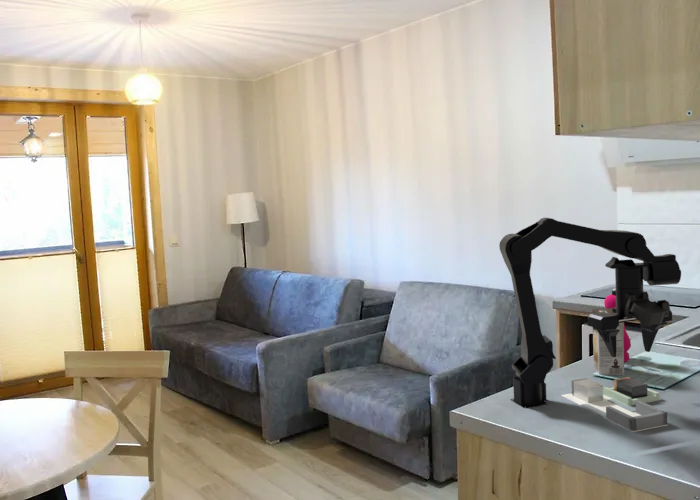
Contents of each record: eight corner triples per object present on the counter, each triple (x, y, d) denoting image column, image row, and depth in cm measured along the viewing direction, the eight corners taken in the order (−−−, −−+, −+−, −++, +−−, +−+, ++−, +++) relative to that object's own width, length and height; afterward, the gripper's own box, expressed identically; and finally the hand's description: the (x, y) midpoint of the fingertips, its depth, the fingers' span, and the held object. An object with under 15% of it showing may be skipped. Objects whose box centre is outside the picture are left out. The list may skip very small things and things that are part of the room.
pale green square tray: (627, 408, 139) (627, 399, 139) (601, 395, 148) (601, 387, 148) (661, 402, 142) (661, 393, 141) (633, 390, 150) (633, 381, 150)
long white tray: (632, 434, 125) (632, 419, 125) (560, 397, 148) (560, 384, 148) (668, 427, 128) (668, 412, 127) (592, 392, 151) (591, 379, 150)
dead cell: (588, 403, 142) (587, 388, 142) (571, 395, 148) (571, 380, 148) (603, 400, 143) (602, 385, 143) (586, 392, 149) (586, 378, 149)
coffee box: (592, 366, 171) (591, 308, 169) (617, 366, 169) (616, 307, 168) (599, 377, 162) (597, 315, 160) (625, 377, 160) (624, 315, 159)
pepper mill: (628, 364, 171) (627, 291, 168) (600, 361, 174) (599, 290, 172) (632, 357, 177) (631, 286, 175) (605, 354, 180) (604, 285, 178)
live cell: (632, 402, 141) (632, 386, 141) (614, 394, 147) (614, 379, 147) (647, 399, 142) (647, 384, 142) (628, 391, 148) (628, 377, 148)
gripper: (618, 296, 132) (620, 369, 133) (691, 287, 137) (692, 357, 138) (585, 289, 143) (586, 356, 144) (653, 280, 148) (654, 345, 149)
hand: (630, 354), depth 144 cm, fingers open, 9 cm apart
